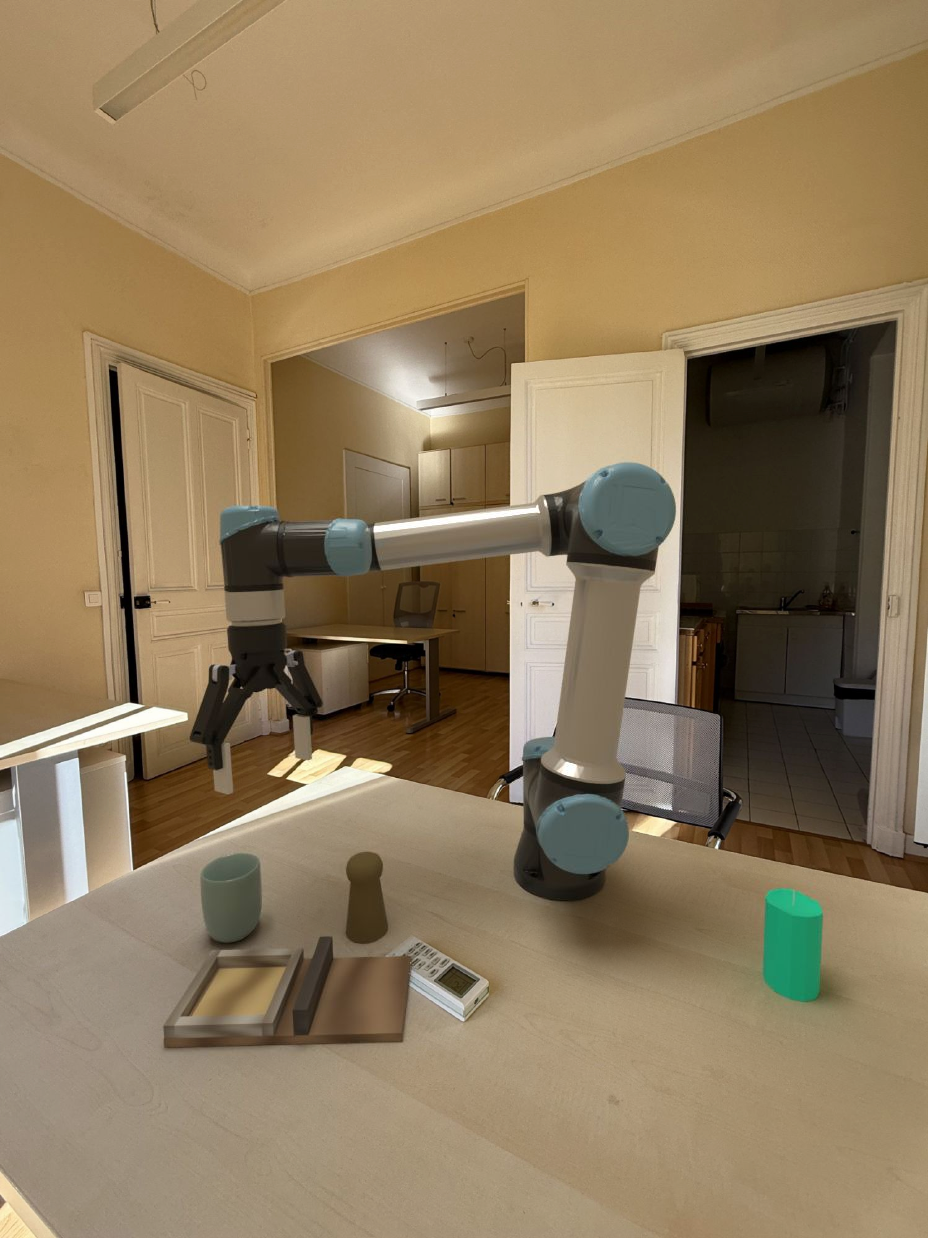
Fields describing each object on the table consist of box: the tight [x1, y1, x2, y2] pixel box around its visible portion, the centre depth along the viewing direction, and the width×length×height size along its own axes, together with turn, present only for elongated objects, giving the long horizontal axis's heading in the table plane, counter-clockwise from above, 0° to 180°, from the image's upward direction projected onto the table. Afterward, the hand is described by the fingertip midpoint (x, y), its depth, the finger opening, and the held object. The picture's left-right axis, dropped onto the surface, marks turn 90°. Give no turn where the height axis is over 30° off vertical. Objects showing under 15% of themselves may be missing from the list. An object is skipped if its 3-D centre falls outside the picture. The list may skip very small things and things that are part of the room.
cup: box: [199, 852, 263, 944], centre depth 79 cm, size 8×8×10 cm
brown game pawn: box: [345, 851, 389, 945], centre depth 79 cm, size 6×6×11 cm
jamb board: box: [162, 935, 412, 1048], centre depth 66 cm, size 26×12×4 cm, turn 90°
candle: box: [762, 887, 824, 1003], centre depth 67 cm, size 6×6×12 cm
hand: (266, 774), depth 77 cm, fingers open, 13 cm apart
